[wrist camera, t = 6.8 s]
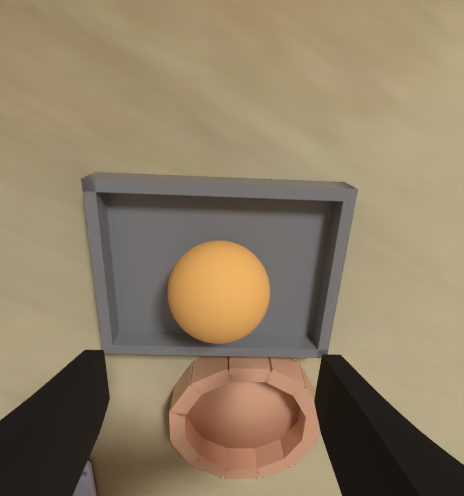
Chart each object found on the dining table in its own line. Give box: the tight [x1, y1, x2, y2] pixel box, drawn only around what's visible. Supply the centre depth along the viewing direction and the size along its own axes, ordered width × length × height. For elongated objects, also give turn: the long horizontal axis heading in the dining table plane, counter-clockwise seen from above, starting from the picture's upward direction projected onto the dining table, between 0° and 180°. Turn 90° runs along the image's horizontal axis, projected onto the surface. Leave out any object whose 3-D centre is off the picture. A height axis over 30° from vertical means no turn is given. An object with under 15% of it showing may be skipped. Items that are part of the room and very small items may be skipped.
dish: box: [169, 356, 320, 479], centre depth 22 cm, size 10×10×2 cm
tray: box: [81, 172, 358, 358], centre depth 18 cm, size 10×13×2 cm
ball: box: [168, 240, 270, 344], centre depth 16 cm, size 5×5×5 cm
